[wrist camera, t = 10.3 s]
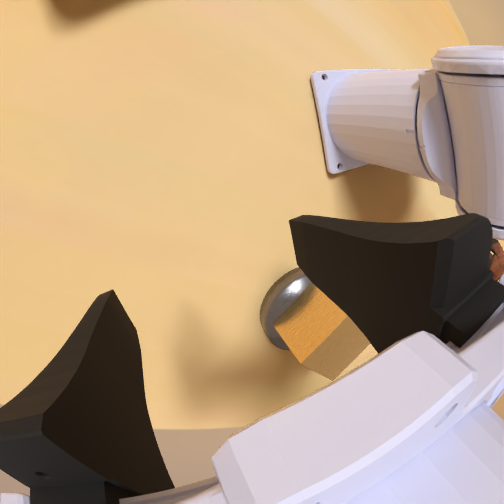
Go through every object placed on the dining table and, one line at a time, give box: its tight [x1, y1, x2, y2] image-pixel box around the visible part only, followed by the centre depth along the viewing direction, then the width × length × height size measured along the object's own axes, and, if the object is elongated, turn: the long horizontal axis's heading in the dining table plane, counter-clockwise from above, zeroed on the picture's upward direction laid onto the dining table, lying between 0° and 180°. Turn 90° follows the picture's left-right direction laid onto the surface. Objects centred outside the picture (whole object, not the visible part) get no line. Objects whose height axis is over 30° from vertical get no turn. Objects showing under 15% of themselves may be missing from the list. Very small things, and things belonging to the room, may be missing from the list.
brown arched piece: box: [487, 238, 504, 281], centre depth 33 cm, size 12×10×8 cm
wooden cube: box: [272, 282, 370, 381], centre depth 23 cm, size 5×5×5 cm
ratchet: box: [260, 267, 311, 350], centre depth 26 cm, size 22×8×5 cm, turn 104°
